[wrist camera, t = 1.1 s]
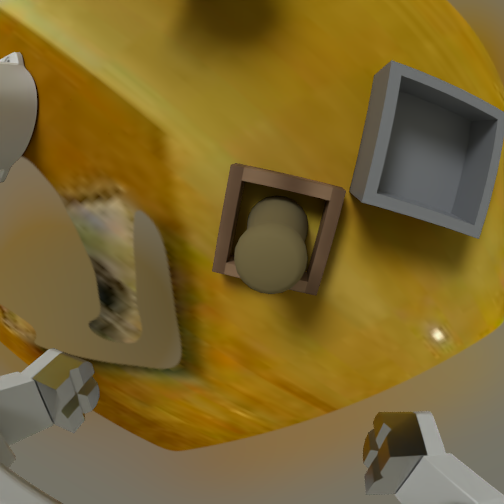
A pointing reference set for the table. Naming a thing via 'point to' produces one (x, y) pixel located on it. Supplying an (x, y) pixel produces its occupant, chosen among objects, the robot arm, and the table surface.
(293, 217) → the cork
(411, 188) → the bin
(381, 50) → the table surface
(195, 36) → the table surface
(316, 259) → the socket collar
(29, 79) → the robot arm
